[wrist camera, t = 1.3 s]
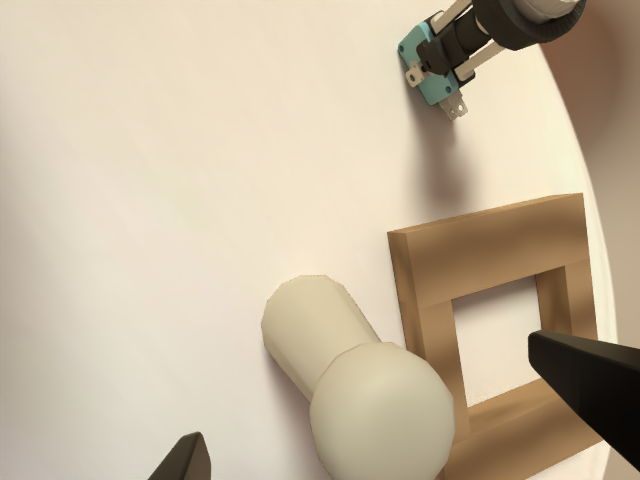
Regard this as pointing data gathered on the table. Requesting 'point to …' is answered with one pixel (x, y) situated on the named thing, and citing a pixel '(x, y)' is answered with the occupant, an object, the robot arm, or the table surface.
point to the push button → (477, 41)
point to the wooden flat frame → (482, 273)
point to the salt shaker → (358, 386)
